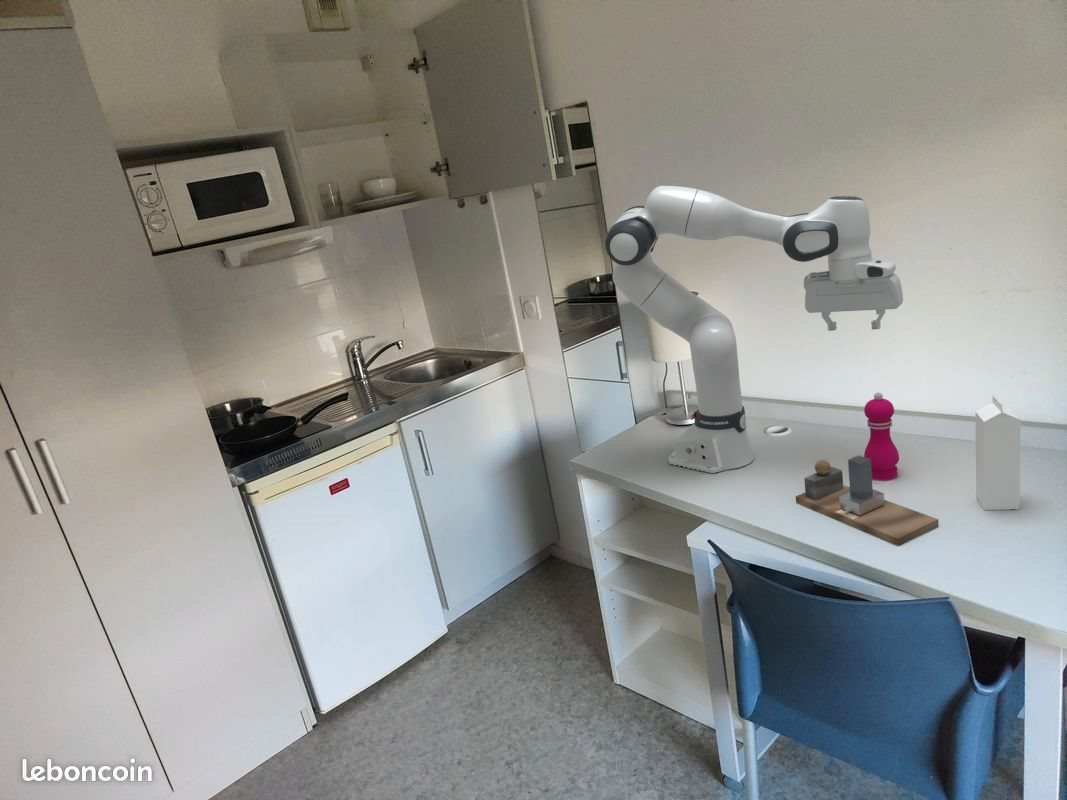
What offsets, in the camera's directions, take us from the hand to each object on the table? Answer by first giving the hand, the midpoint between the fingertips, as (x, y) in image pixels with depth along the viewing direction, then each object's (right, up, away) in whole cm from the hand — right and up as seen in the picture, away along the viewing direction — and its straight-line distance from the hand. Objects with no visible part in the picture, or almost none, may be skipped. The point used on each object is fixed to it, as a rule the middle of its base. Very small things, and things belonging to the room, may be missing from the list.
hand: (853, 329), depth 157 cm
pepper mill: (+7, -34, +1) cm, 34 cm away
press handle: (-5, -38, -14) cm, 41 cm away
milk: (+20, -37, -20) cm, 46 cm away
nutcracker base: (-5, -40, -14) cm, 43 cm away
